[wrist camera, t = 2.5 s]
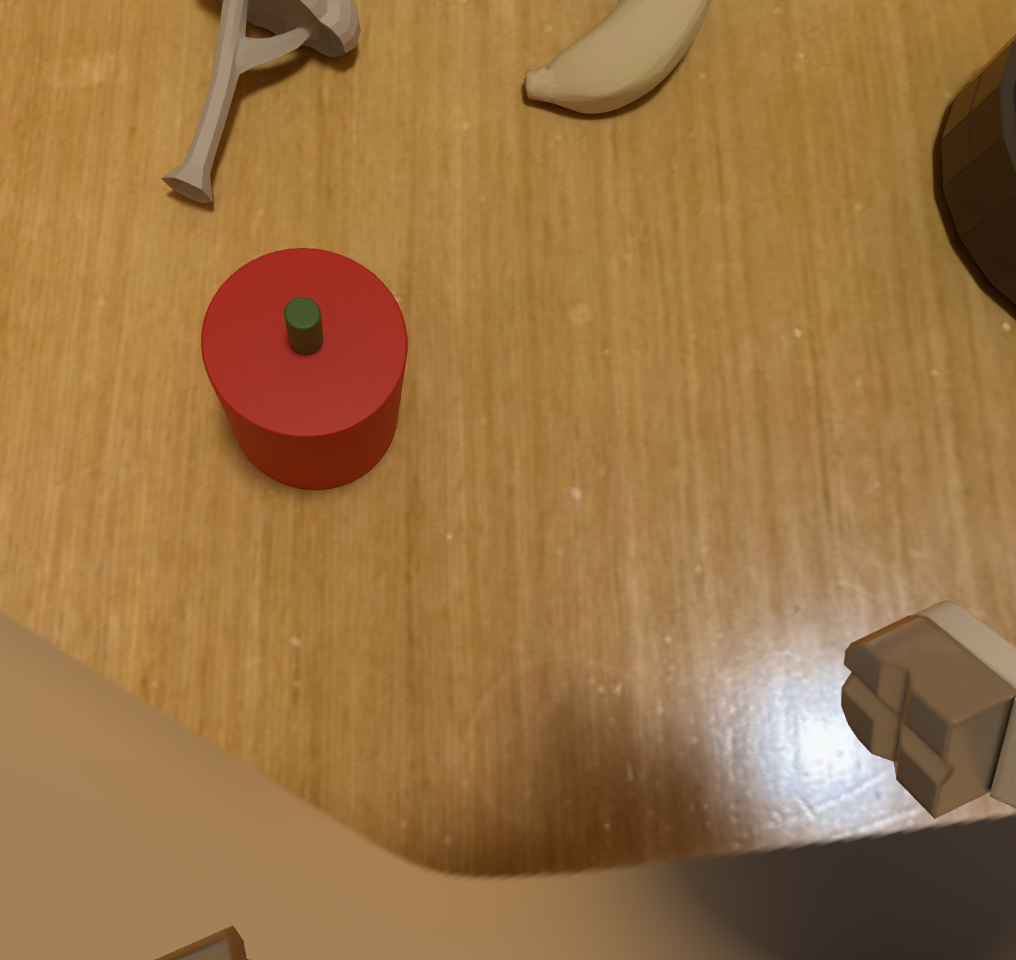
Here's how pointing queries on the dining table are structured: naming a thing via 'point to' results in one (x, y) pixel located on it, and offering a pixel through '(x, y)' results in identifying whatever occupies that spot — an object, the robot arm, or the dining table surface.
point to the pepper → (307, 365)
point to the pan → (985, 168)
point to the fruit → (619, 56)
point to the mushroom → (296, 21)
